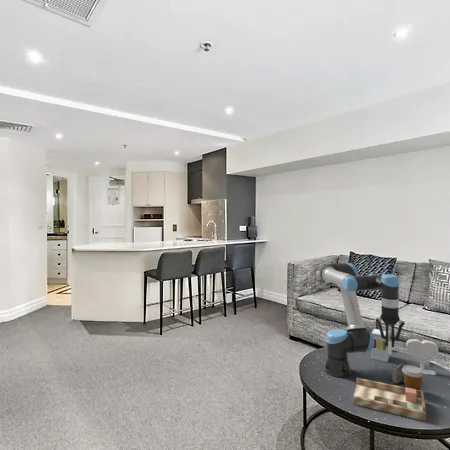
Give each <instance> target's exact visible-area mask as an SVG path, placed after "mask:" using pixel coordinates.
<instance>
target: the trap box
mask: <svg viewBox="0 0 450 450" xmlns="http://www.w3.org/2000/svg"><path fill="white" fill-rule="evenodd" d="M355 382H356V386H355V389H354V394H353V401H352V402H353V403H352V404H353V405H355V406H360V407H364V408H369V409H373V410H377V411H381V412H385V413H389V414H392V415H398V416H402V417H406V418H411V419H413V420H414V419H415V420H419V421H424V422H427V412H426V409H427V408H426V402H425V395H424V391H423V390H421V389H420V390H416V403H414V402H409V401H406V397H405V386H399V385H396V384H395V385H394V384H389V383H385V382H379V381H375V380H374V381H373V380H370V379H364V378H360V377H356V381H355Z"/></svg>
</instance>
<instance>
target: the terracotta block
mask: <svg viewBox="0 0 450 450" xmlns="http://www.w3.org/2000/svg"><path fill="white" fill-rule="evenodd" d="M404 387H405V386H404ZM405 397H406V401H409V402H414V403H416V389H412V388H407V387H405Z"/></svg>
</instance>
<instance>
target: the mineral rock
mask: <svg viewBox="0 0 450 450" xmlns="http://www.w3.org/2000/svg"><path fill="white" fill-rule="evenodd" d="M405 365H406V364H404V363H401V362H400V363H399V364H396V365H392V366H391V375H390V380H391V381H392V383H395V385H396V384H402V383H405V382H404V376H403V372H402V368H403V366H405Z"/></svg>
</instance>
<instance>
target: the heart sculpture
mask: <svg viewBox="0 0 450 450" xmlns="http://www.w3.org/2000/svg"><path fill="white" fill-rule="evenodd" d="M406 349H407V352H408V353H409V355H410V356H411V357H412V358H413V359H415V360H416V361H418V362H419V365H420V366H419V368H420V369H421V370H422V372H423V375H432V376H435V375H437V372H435V371H433V370H428V369H425V364H426V363H428V362H432V361H433V360H434V359H436V357H437V356H438V354H439V346H438V345H437V343H435V342H433V341H432V340H431V341H430V340H427V339H425V340H420V339H418V338H411V339H408V340H406Z"/></svg>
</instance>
